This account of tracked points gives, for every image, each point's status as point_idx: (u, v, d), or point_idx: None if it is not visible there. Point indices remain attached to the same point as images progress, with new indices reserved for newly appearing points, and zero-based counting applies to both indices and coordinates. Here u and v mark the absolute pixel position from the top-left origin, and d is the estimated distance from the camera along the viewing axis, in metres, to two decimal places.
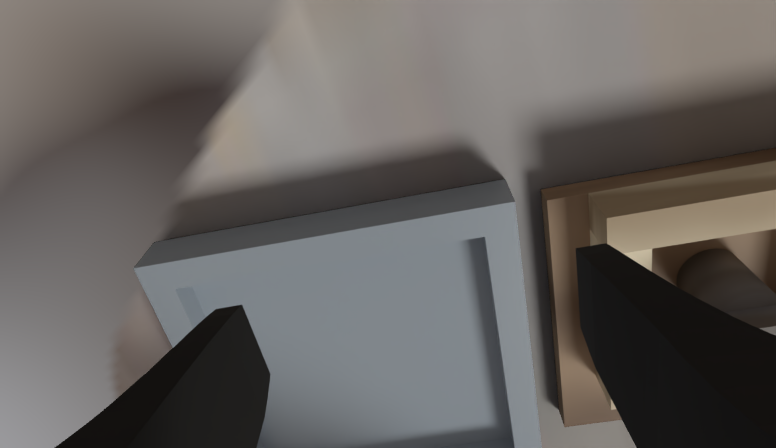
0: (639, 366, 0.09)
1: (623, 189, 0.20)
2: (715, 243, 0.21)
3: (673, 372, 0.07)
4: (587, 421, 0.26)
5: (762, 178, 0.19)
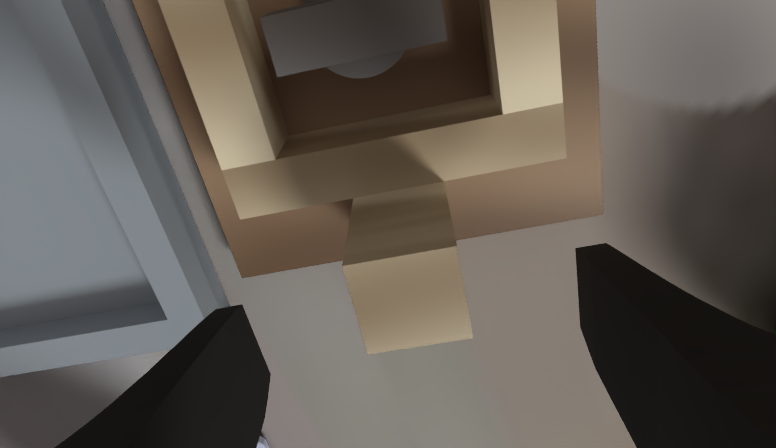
0: (639, 366, 0.09)
1: None
2: None
3: (673, 372, 0.07)
4: (270, 268, 0.18)
5: None
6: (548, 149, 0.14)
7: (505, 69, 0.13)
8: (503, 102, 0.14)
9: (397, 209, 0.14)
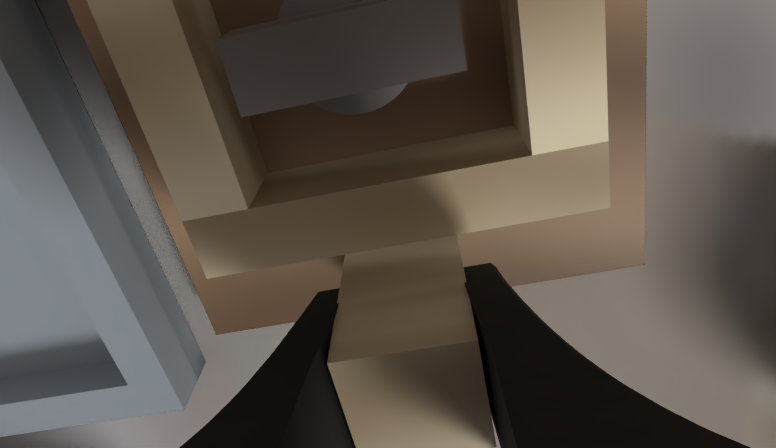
0: (494, 387, 0.09)
1: None
2: None
3: (501, 396, 0.08)
4: (249, 324, 0.16)
5: None
6: (587, 197, 0.11)
7: (537, 100, 0.10)
8: (533, 140, 0.11)
9: (398, 275, 0.11)
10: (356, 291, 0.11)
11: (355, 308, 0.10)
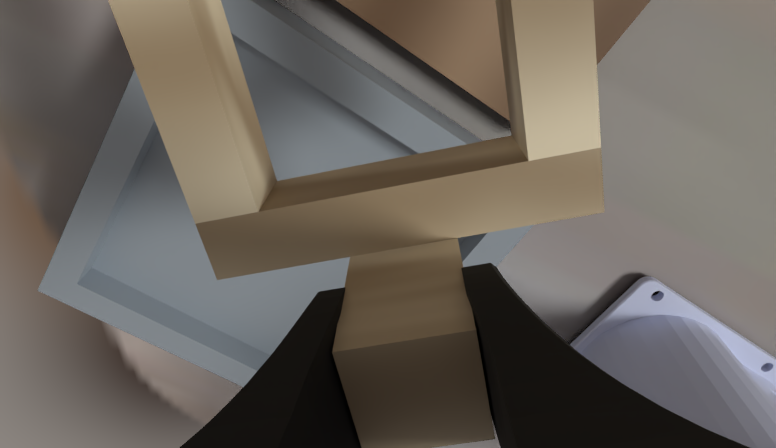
0: (494, 387, 0.09)
1: None
2: None
3: (501, 397, 0.08)
4: None
5: None
6: (582, 202, 0.12)
7: (532, 108, 0.11)
8: (529, 146, 0.11)
9: (401, 274, 0.11)
10: (360, 289, 0.11)
11: (359, 304, 0.11)
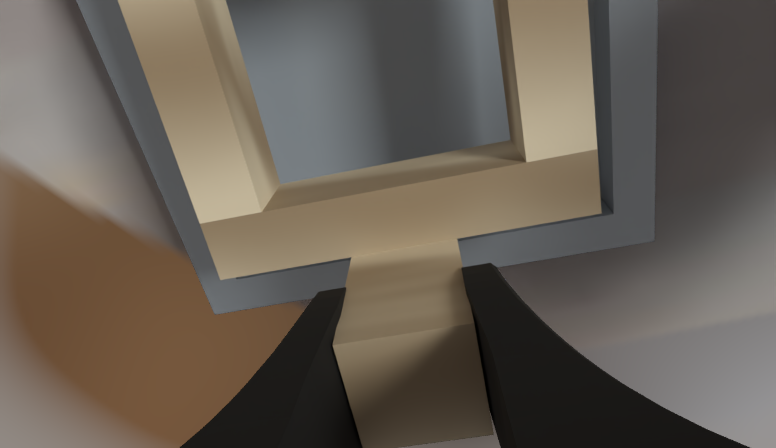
0: (494, 387, 0.09)
1: None
2: None
3: (501, 397, 0.08)
4: None
5: None
6: (580, 203, 0.12)
7: (529, 110, 0.11)
8: (527, 148, 0.12)
9: (401, 272, 0.12)
10: (361, 286, 0.11)
11: (360, 300, 0.11)
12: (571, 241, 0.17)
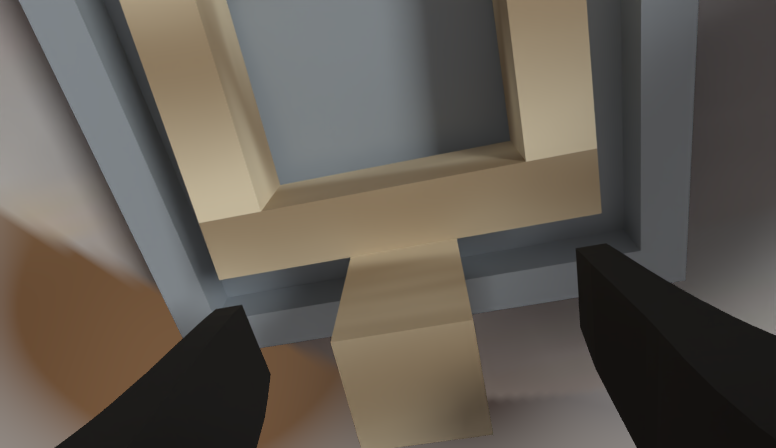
0: (639, 366, 0.09)
1: None
2: None
3: (673, 372, 0.07)
4: None
5: None
6: (580, 203, 0.12)
7: (529, 109, 0.11)
8: (526, 147, 0.12)
9: (400, 271, 0.12)
10: (360, 285, 0.11)
11: (358, 299, 0.11)
12: None
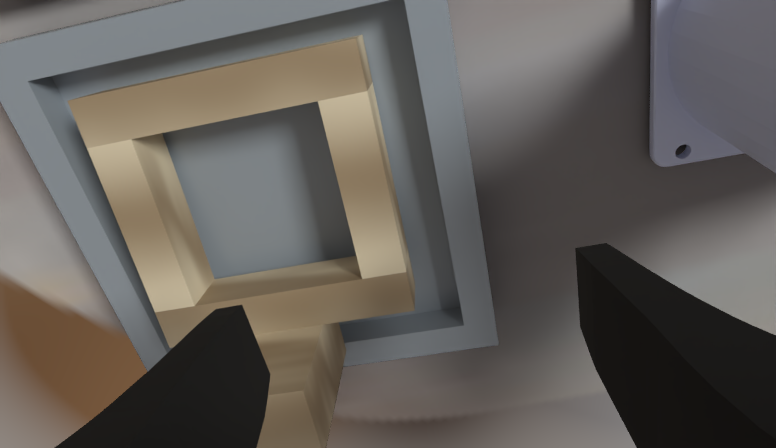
0: (639, 366, 0.09)
1: (132, 84, 0.18)
2: None
3: (673, 372, 0.07)
4: None
5: (245, 61, 0.17)
6: (399, 304, 0.19)
7: (360, 248, 0.18)
8: (361, 270, 0.18)
9: (279, 350, 0.18)
10: None
11: None
12: (433, 344, 0.22)
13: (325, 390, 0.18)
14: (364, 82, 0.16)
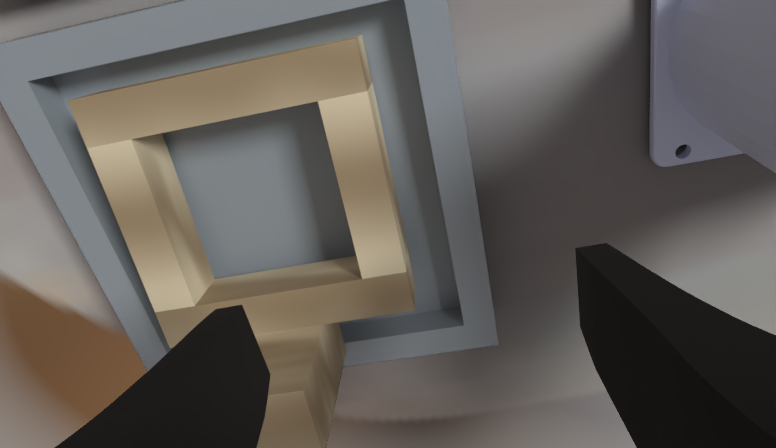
0: (639, 366, 0.09)
1: (132, 84, 0.18)
2: None
3: (673, 372, 0.07)
4: None
5: (245, 61, 0.17)
6: (399, 304, 0.19)
7: (360, 248, 0.18)
8: (361, 270, 0.18)
9: (279, 350, 0.18)
10: None
11: None
12: (433, 344, 0.22)
13: (325, 390, 0.18)
14: (364, 82, 0.16)
